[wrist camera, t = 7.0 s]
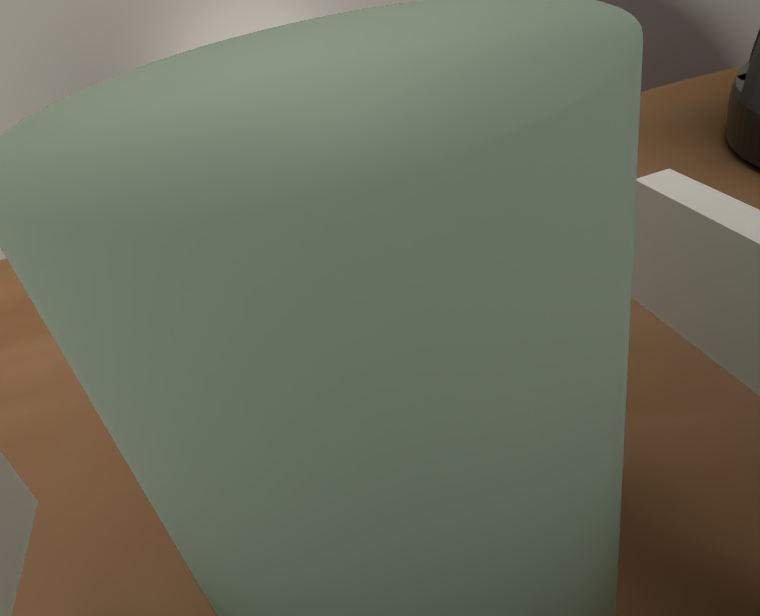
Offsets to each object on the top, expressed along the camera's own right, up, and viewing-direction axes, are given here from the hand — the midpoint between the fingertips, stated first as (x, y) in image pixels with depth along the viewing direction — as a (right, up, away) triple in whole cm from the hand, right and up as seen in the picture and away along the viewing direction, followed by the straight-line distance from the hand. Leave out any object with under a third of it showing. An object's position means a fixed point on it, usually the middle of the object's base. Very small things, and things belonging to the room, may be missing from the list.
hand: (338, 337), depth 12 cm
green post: (+2, -7, +1) cm, 7 cm away
